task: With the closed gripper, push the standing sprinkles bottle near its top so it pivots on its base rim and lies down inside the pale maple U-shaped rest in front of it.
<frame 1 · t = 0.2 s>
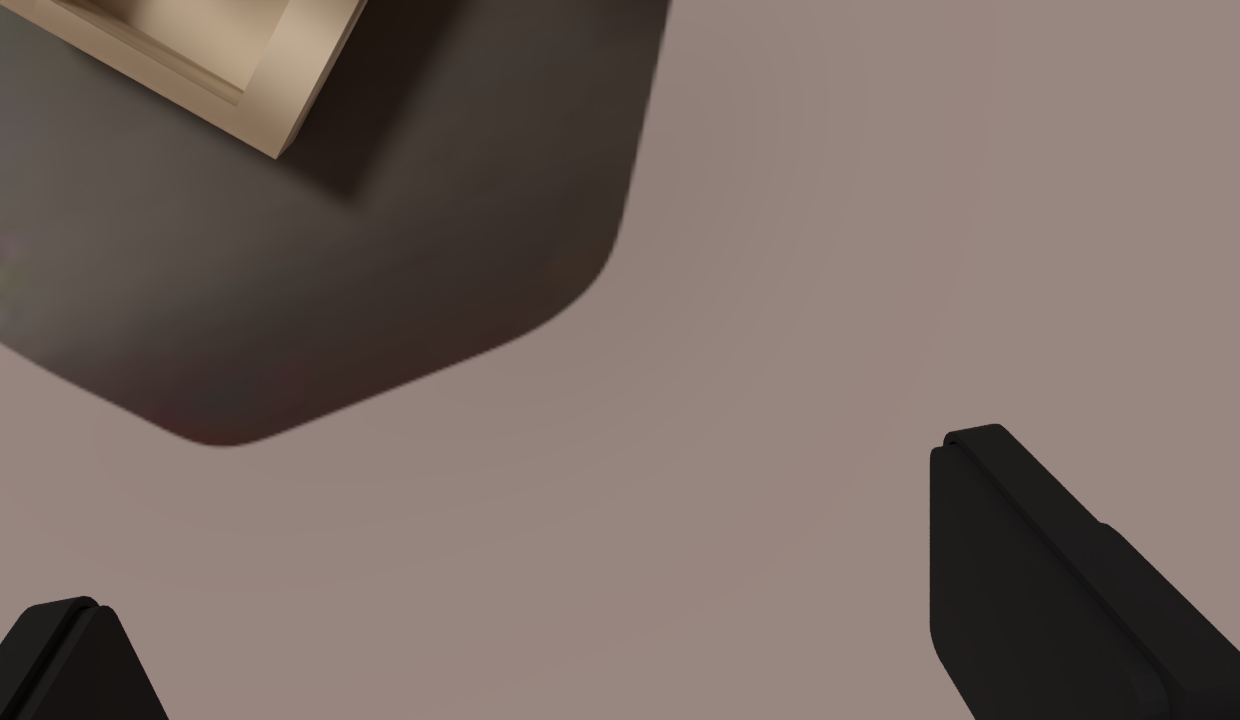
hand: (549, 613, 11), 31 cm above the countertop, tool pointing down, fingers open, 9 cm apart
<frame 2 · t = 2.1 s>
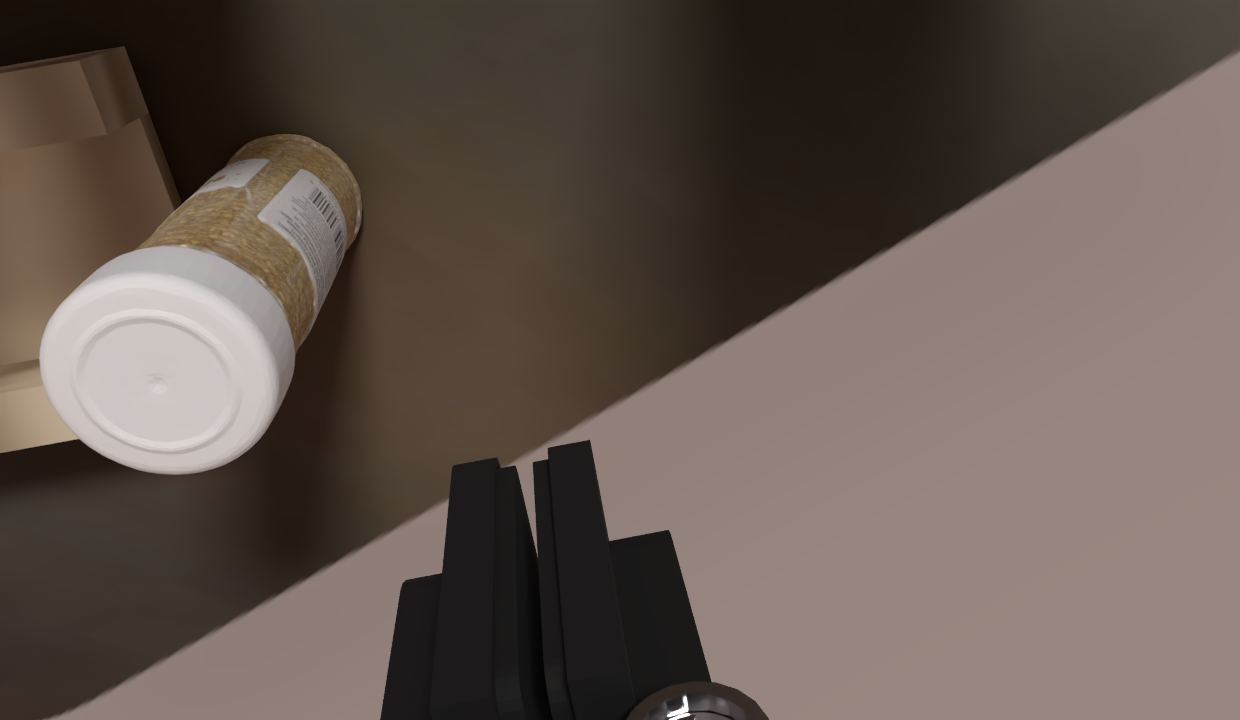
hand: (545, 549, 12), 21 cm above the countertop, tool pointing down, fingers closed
sprinkles bottle: (296, 200, 30), on the countertop
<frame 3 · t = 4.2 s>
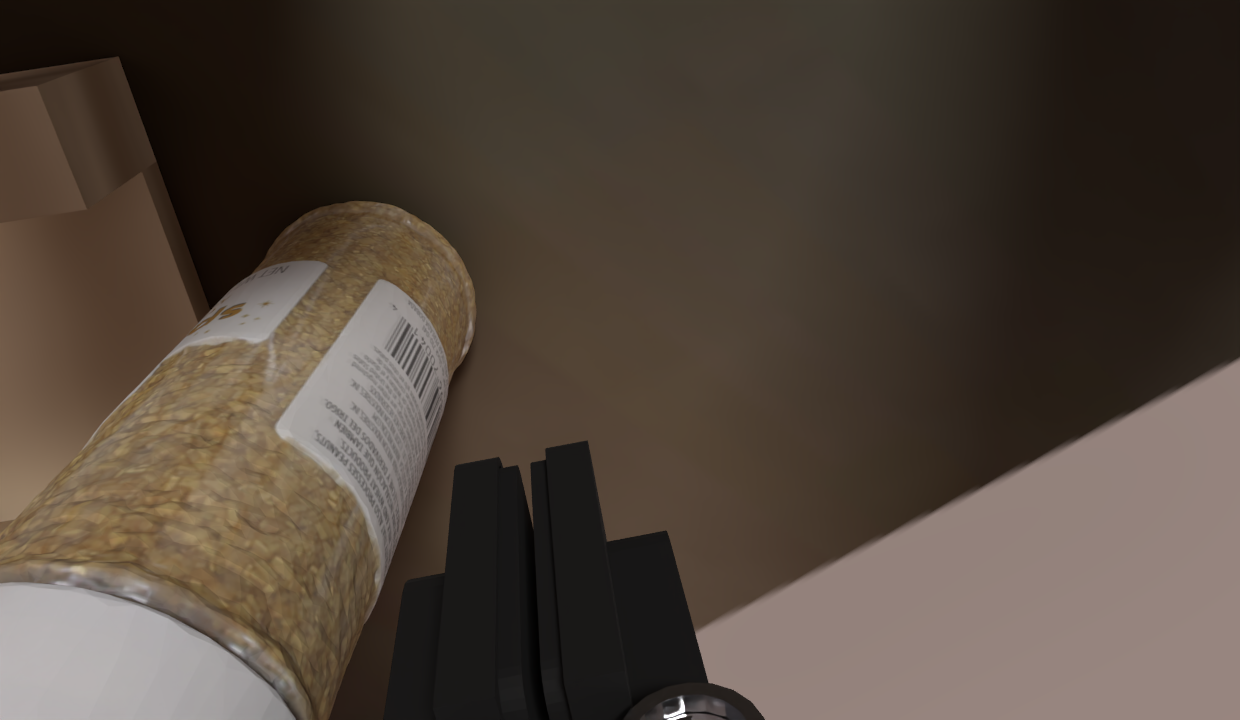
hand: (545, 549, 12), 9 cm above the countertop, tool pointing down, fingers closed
sprinkles bottle: (377, 296, 20), on the countertop
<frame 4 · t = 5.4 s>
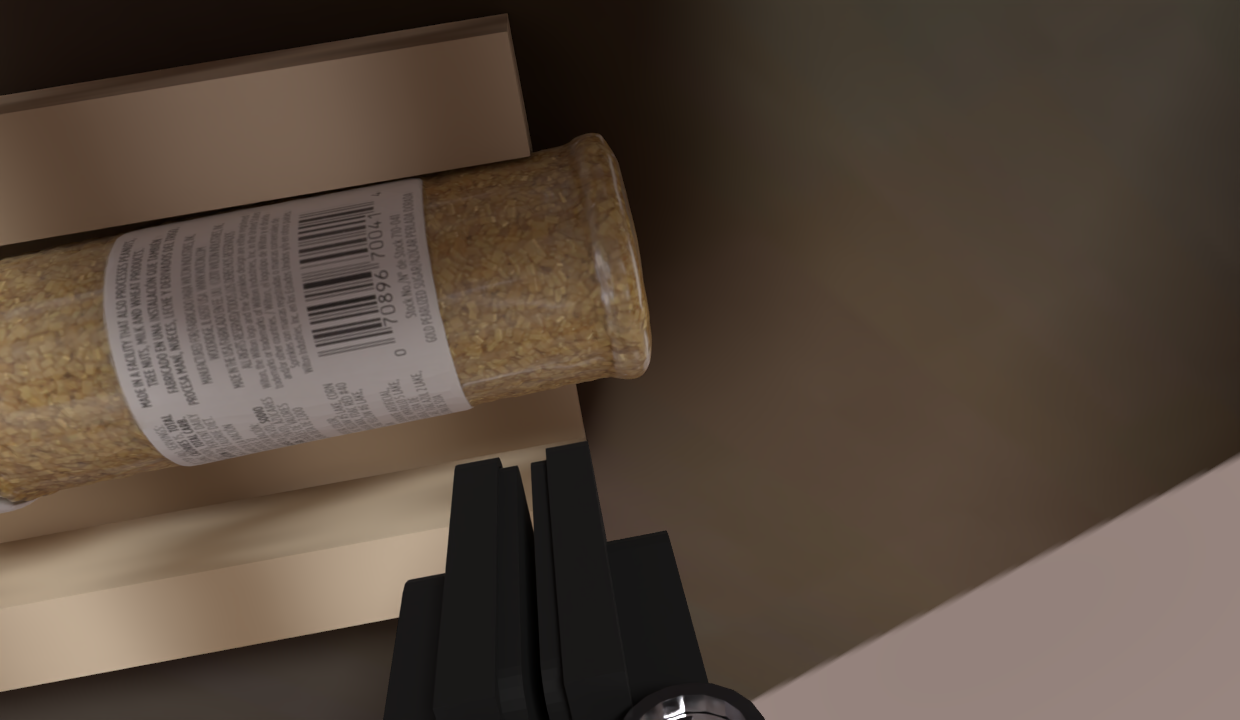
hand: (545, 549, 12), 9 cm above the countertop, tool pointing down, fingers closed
sprinkles bottle: (644, 254, 17), point 3 cm above the countertop, touching bottle rest
bottle rest: (209, 341, 20), on the countertop
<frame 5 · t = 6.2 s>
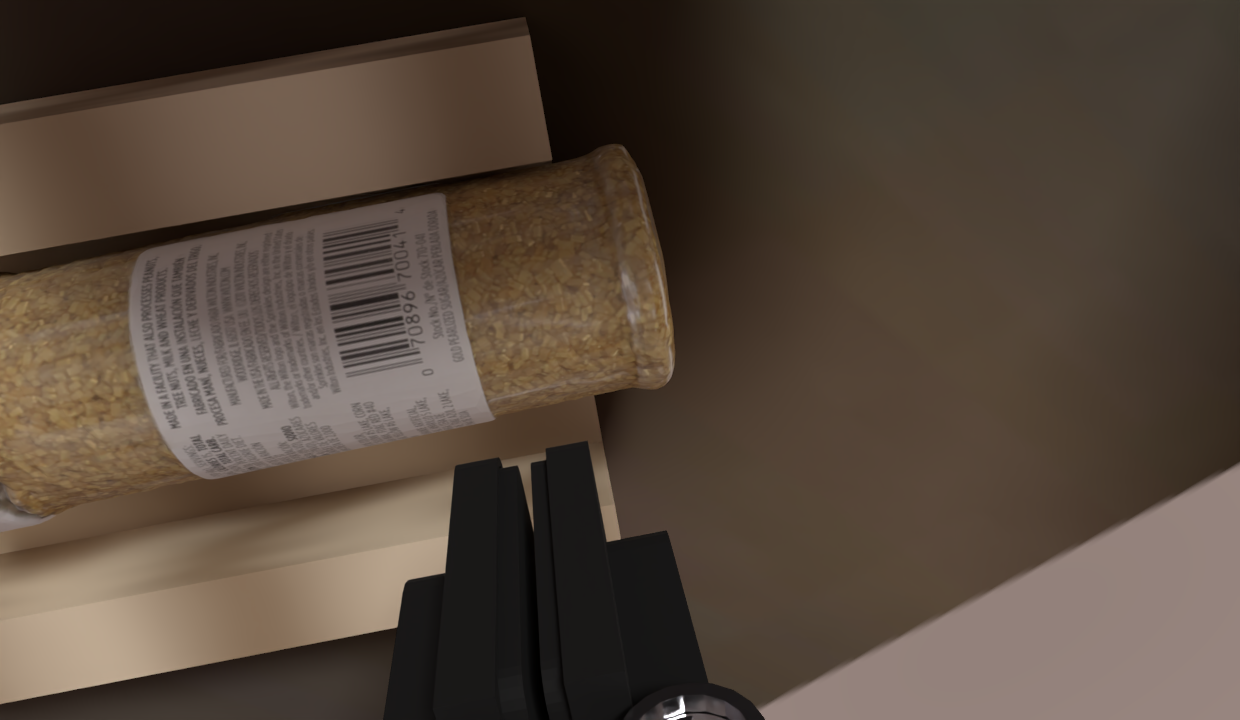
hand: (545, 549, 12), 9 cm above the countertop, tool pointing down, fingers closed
sprinkles bottle: (665, 264, 17), point 3 cm above the countertop, touching bottle rest
bottle rest: (226, 347, 20), on the countertop
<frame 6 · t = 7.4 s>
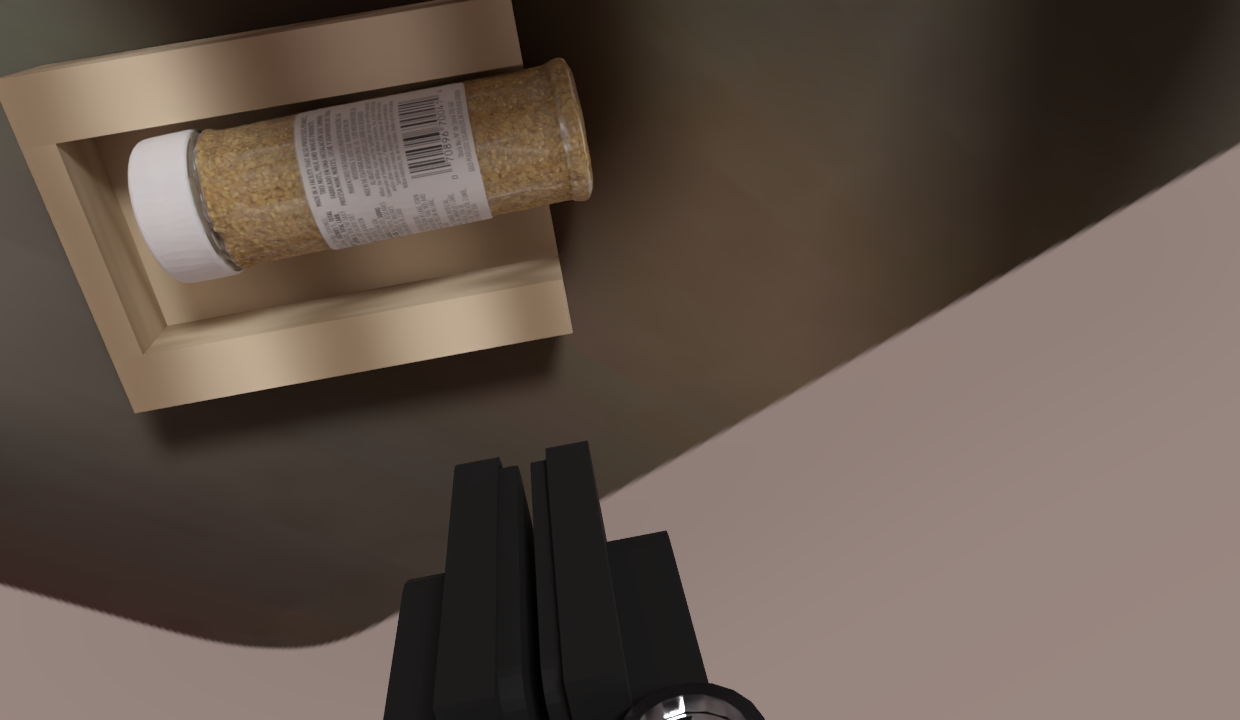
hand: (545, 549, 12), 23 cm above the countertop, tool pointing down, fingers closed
sprinkles bottle: (589, 128, 29), point 3 cm above the countertop, touching bottle rest
bottle rest: (326, 191, 32), on the countertop
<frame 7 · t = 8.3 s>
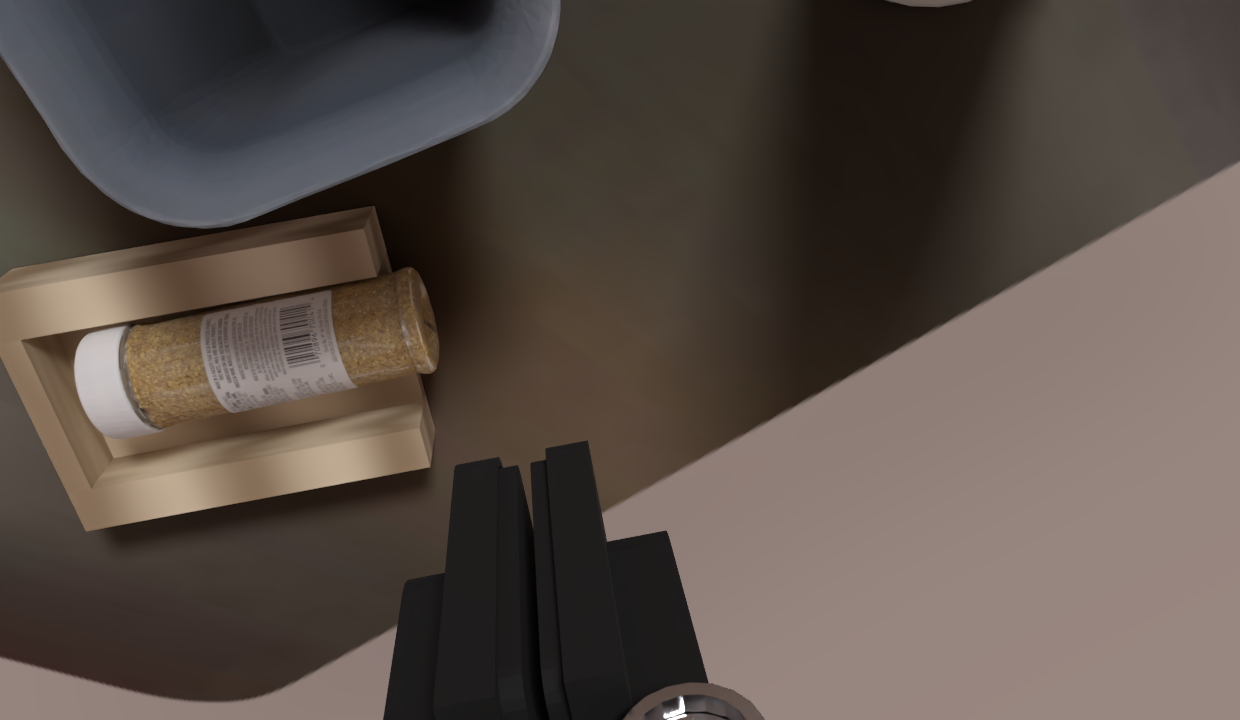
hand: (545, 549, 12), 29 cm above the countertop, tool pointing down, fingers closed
sprinkles bottle: (433, 318, 38), point 3 cm above the countertop, touching bottle rest
bottle rest: (238, 354, 41), on the countertop
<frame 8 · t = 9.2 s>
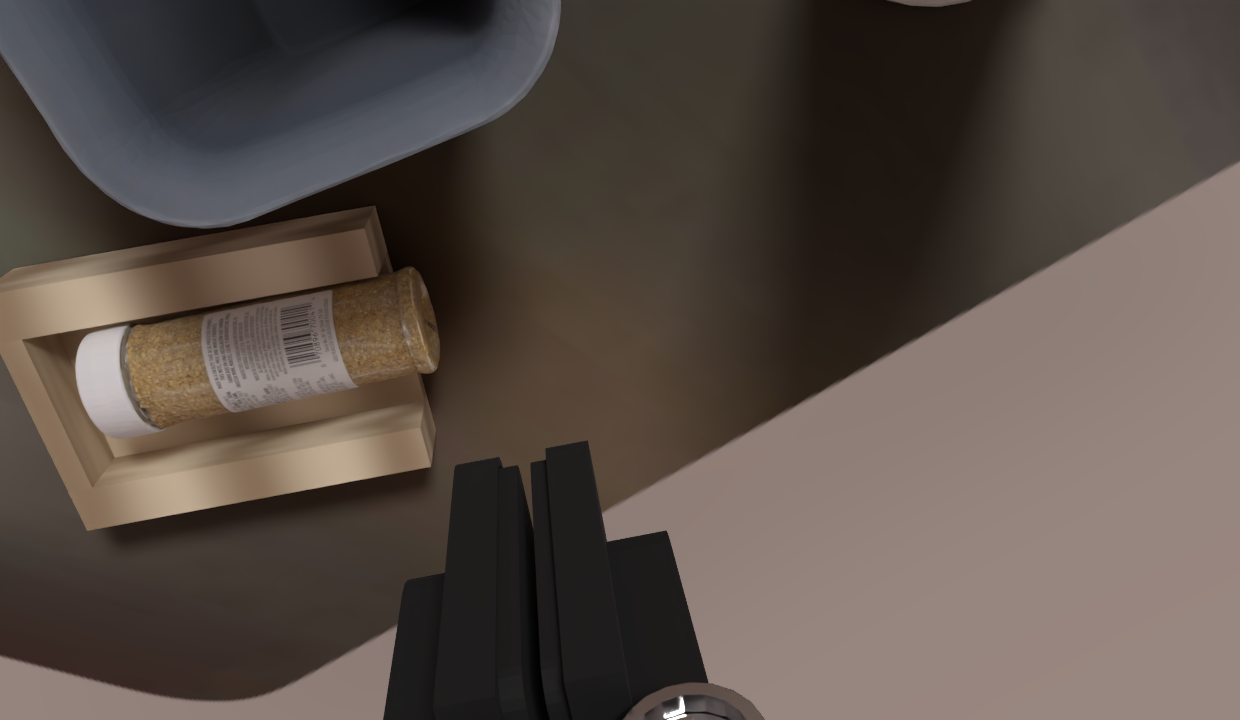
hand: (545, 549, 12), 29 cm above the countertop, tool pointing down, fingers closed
sprinkles bottle: (434, 318, 38), point 3 cm above the countertop, touching bottle rest
bottle rest: (239, 354, 41), on the countertop
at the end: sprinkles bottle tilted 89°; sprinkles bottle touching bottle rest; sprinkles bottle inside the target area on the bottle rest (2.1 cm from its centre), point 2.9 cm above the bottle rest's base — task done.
